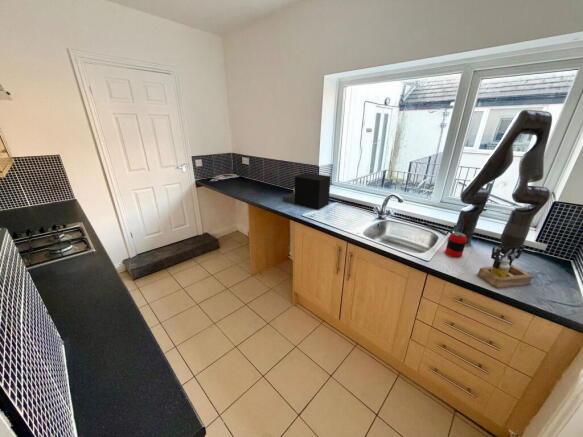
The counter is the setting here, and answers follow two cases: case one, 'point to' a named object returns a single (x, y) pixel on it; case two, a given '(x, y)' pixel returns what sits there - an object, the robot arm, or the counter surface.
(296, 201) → the black squarish block
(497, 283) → the holder
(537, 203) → the robot arm
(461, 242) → the soda can
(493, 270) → the supplement bottle
